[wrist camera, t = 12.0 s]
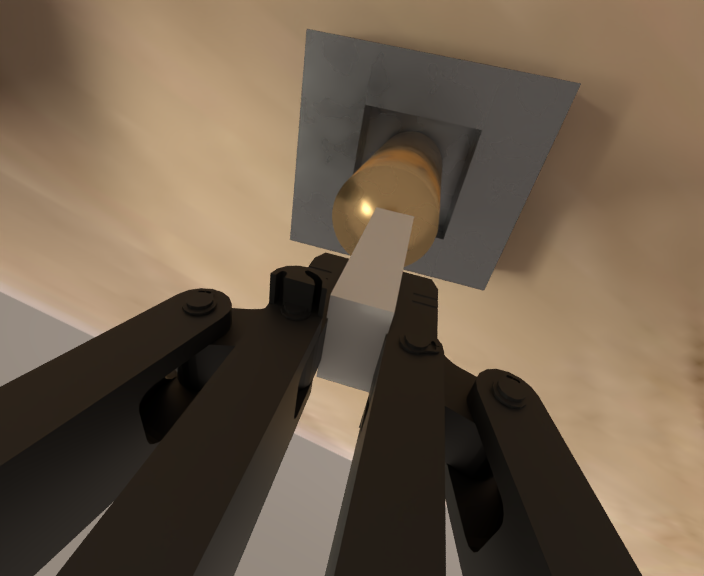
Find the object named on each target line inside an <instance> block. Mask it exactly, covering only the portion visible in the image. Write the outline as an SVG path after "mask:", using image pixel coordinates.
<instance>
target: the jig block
mask: <svg viewBox="0 0 704 576" xmlns="http://www.w3.org/2000/svg"><path fill="white" fill-rule="evenodd" d="M580 85H581V84H580V83H575V82H570V81H565V80H560V79H555V78H550V77H545V76H540V75H535V74H530V73H525V72H520V71H515V70H510V69H505V68H500V67H495V66H490V65H485V64H480V63H475V62H470V61H465V60H460V59H455V58H450V57H445V56H440V55H435V54H430V53H425V52H420V51H415V50H410V49H405V48H400V47H395V46H390V45H385V44H380V43H375V42H370V41H365V40H360V39H355V38H350V37H345V36H340V35H335V34H330V33H325V32H320V31H315V30H310V29H307V32H306V45H305V57H304V70H303V83H302V95H301V108H300V121H299V133H298V146H297V159H296V171H295V184H294V197H293V209H292V222H291V235H290V240H293V241H297V242H300V243H304V244H308V245H312V246H316V247H319V248H323V249H327V250H331V251H335V252H339V253H342V254H346V255H349V254H348V253H347V252H346V251H345V249H344V248H343V247H342V246H341V244H340V242H339V241H338V239H337V237H336V234H335V231H334V228H333V222H332V210H333V205H334V201H335V198H336V196H337V194H338V192H339V190H340V189H341V187H342V186H343V185H344V183H345V182H346V181H347V180H348V179H349V178H350V177H351V176H352V175H353V174H354V173H355V172H356V171H357V170H358V169H359V168H360V167H361V166H362V165H363V164H364V163H365V162H366V161H367V160H368V159H369V158H370V157H371V156H372V155H373V154H375V153H376V152H377V151H378V150H379V149H380V148H381V147H382V146H383V145H384V144H385V143H386V142H387V141H388V140H389V139H390V138H391V137H393V136H395V135H397V134H399V133H402V132H411V131H413V132H418V133H422V134H424V135H426V136H428V137H429V138H430V139H431V140H433V141H434V143H435V144H436V145H437V147H438V149H439V151H440V153H441V157H442V180H441V196H440V212H439V225H438V231H437V235H436V238H435V240H434V242H433V244H432V246H431V247H430V249H429V250H428V251H427V252H426V253H425V254H424V255H423V256H422V257H421V258H420V259H419V260H417V261H416V262H414V263H412V264H410V265H408V266H405V267H404V268H403V270H407V271H411V272H415V273H419V274H423V275H426V276H430V277H434V278H438V279H442V280H445V281H449V282H453V283H457V284H461V285H465V286H468V287H472V288H476V289H480V290H485V287H486V285H487V283H488V281H489V279H490V277H491V275H492V272H493V270H494V268H495V266H496V264H497V262H498V260H499V258H500V255H501V253H502V251H503V249H504V247H505V245H506V243H507V241H508V238H509V236H510V234H511V232H512V230H513V228H514V226H515V223H516V221H517V219H518V217H519V215H520V213H521V211H522V209H523V206H524V204H525V202H526V200H527V198H528V196H529V194H530V191H531V189H532V187H533V185H534V183H535V181H536V179H537V177H538V174H539V172H540V170H541V168H542V166H543V164H544V162H545V159H546V157H547V155H548V153H549V151H550V149H551V147H552V145H553V142H554V140H555V138H556V136H557V134H558V132H559V130H560V127H561V125H562V123H563V121H564V119H565V117H566V115H567V113H568V110H569V108H570V106H571V104H572V102H573V100H574V98H575V95H576V93H577V91H578V89H579V87H580Z"/></svg>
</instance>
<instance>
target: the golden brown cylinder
mask: <svg viewBox="0 0 704 576" xmlns="http://www.w3.org/2000/svg"><path fill="white" fill-rule="evenodd" d="M441 180H442V157H441V153H440V151H439V149H438V147H437V145H436V144H435V143H434V141H433V140H431V139H430V138H429V137H428V136H426V135H424V134H422V133H418V132H413V131H411V132H402V133H399V134H397V135H395V136H393V137H391V138H390V139H389V140H388V141H387V142H386V143H385V144H384V145H383V146H382V147H381V148H380V149H379V150H378V151H377V152H376V153H375V154H373V155H372V156H371V157H370V158H369V159H368V160H367V161H366V162H365V163H364V164H363V165H362V166H361V167H360V168H359V169H358V170H357V171H356V172H355V173H354V174H353V175H352V176H351V177H350V178H349V179H348V180H347V181H346V182H345V183H344V185H343V186H342V187H341V189H340V190H339V192H338V194H337V196H336V198H335V201H334V205H333V210H332V222H333V228H334V231H335V234H336V237H337V239H338V241H339V242H340V244H341V246H342V247H343V248H344V249H345V251H346V252H347V253H348V254H349V255H350V256H351V255H352V253H353V251H354V249H355V247H356V245H357V243H358V242H359V240H360V238H361V236H362V234H363V232H364V230H365V228H366V226H367V224H368V223H369V221H370V219H371V217H372V215H373V213H374V211H375V209H376V207H378V208H382V209H386V210H390V211H394V212H398V213H402V214H406V215H410V216H414V219H413V224H412V229H411V234H410V239H409V244H408V249H407V254H406V258H405V263H404V267H405V266H408V265H410V264H412V263H414V262H416V261H417V260H419V259H420V258H421V257H422V256H423V255H424V254H425V253H426V252H427V251H428V250H429V249H430V247H431V246H432V244H433V242H434V240H435V238H436V235H437V231H438V225H439V212H440V196H441Z"/></svg>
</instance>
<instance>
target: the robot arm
mask: <svg viewBox="0 0 704 576" xmlns="http://www.w3.org/2000/svg"><path fill="white" fill-rule="evenodd" d="M413 219H414V216H410V215H406V214H402V213H398V212H394V211H390V210H386V209H382V208H378V207H376V209H375V211H374V213H373V215H372V217H371V219H370V221H369V223H368V224H367V226H366V228H365V230H364V232H363V234H362V236H361V238H360V240H359V242H358V243H357V245H356V247H355V249H354V251H353V253H352V255H351V257H350V259H348V258H344V257H340V256H337V255H333V254H329V253H324V254H322V255H320V256H318V257H315V258H314V260H313V261H312V262H311V264H310V265H309V267H303V266H285V267H282V268H278V269H276V270H275V271H273V272H272V273H271V275H270V296H269V304H268V305H267V306H266V308H264V309H237V308H232V303H231V301H230V298H229V297H228V296H227V295H225V294H224V293H223V292H220V291H217V290H214V289H203V288H200V289H193V290H188V291H185V292H182V293H180V294H177V295H175V296H173V297H172V298H170V299H168V300H166V301H164V302H162V303H160V304H158V305H156V306H154V307H152V308H150V309H149V310H147V311H145V312H143V313H141V314H139V315H137V316H135V317H133V318H131V319H129V320H127V321H126V322H124V323H122V324H120V325H118V326H116V327H114V328H112V329H110V330H108V331H106V332H104V333H103V334H101V335H99V336H97V337H95V338H93V339H91V340H89V341H87V342H85V343H84V344H81V345H80V346H78V347H76V348H74V349H72V350H70V351H68V352H66V353H64V354H63V355H60V356H59V357H57V358H55V359H53V360H51V361H49V362H47V363H45V364H43V365H41V366H39V367H38V368H36V369H34V370H32V371H30V372H28V373H26V374H24V375H22V376H20V377H18V378H16V379H15V380H12V381H11V382H9V383H7V384H5V385H3V386H1V387H0V576H34V575H35V574H36V573H37V572H38V571H39V570H40V569H41V568H42V567H43V566H45V565H46V564H47V563H48V562H49V561H50V560H51V559H52V558H53V557H54V556H55V555H56V554H58V553H59V552H60V551H61V550H62V549H63V548H64V547H65V546H66V545H67V544H68V543H69V542H71V540H73V539H74V538H75V537H76V536H77V535H78V534H79V533H80V532H81V531H82V530H83V529H84V528H85V527H86V526H88V525H89V524H90V523H91V522H92V521H93V520H94V519H95V518H96V517H97V516H99V514H100V513H102V512H103V511H104V510H105V509H106V508H107V507H108V506H109V505H110V504H111V503H112V502H113V504H112V505H111V506H110V507H109V508H108V510H107V511H106V512H105V514H104V515H103V516H102V517H101V519H100V520H99V521H98V523H97V524H96V525H95V526H94V528H93V529H92V530H91V531H90V533H89V534H88V535H87V537H86V538H85V539H84V540H83V542H82V543H81V544H80V545H79V547H78V548H77V549H76V551H75V552H74V553H73V554H72V556H71V557H70V558H69V560H68V561H67V562H66V564H65V565H64V566H63V567H62V568H61V570H60V571H59V572H58V574H57V575H56V576H234V574H235V571H236V569H237V567H238V564H239V562H240V559H241V557H242V555H243V552H244V550H245V548H246V545H247V543H248V541H249V538H250V536H251V533H252V531H253V528H254V526H255V524H256V522H257V519H258V516H259V514H260V512H261V509H262V507H263V505H264V502H265V500H266V498H267V495H268V493H269V490H270V488H271V486H272V483H273V481H274V479H275V476H276V474H277V472H278V469H279V467H280V464H281V462H282V459H283V457H284V455H285V452H286V450H287V448H288V445H289V442H290V440H291V438H292V436H293V433H294V431H295V429H296V426H297V424H298V421H299V419H300V417H301V414H302V412H303V410H304V407H305V405H306V402H307V400H308V398H309V395H310V393H311V387H312V381H313V378H314V375H315V373H316V371H317V369H318V371H317V377H320V378H323V379H326V380H330V381H333V382H336V383H340V384H343V385H346V386H349V387H353V388H356V389H359V390H363V391H366V392H369V396H368V400H367V403H366V406H365V410H364V413H363V416H362V419H361V423H360V426H359V427H360V431H359V435H358V439H357V443H356V447H355V451H354V456H353V460H352V464H351V468H350V473H349V477H348V481H347V485H346V489H345V493H344V497H343V502H342V506H341V510H340V514H339V518H338V522H337V527H336V531H335V535H334V540H333V543H332V548H331V552H330V556H329V560H328V564H327V568H326V573H325V576H446V546H445V545H446V540H445V538H446V537H445V536H446V535H445V499H446V504H447V508H448V513H449V517H450V522H451V525H452V530H453V535H454V539H455V544H456V548H457V553H458V557H459V562H460V566H461V570H462V575H463V576H642V574H641V573H640V571H639V569H638V568H637V566H636V564H635V562H634V561H633V559H632V557H631V555H630V554H629V552H628V550H627V549H626V547H625V545H624V543H623V542H622V540H621V538H620V536H619V535H618V533H617V531H616V529H615V528H614V526H613V524H612V523H611V521H610V519H609V517H608V516H607V514H606V512H605V510H604V509H603V507H602V505H601V503H600V502H599V500H598V498H597V497H596V495H595V493H594V491H593V490H592V488H591V486H590V484H589V483H588V481H587V479H586V477H585V476H584V474H583V472H582V471H581V469H580V467H579V465H578V464H577V462H576V460H575V458H574V457H573V455H572V453H571V451H570V450H569V448H568V446H567V445H566V443H565V441H564V439H563V438H562V436H561V434H560V432H559V431H558V429H557V427H556V425H555V424H554V422H553V420H552V419H551V417H550V415H549V413H548V412H547V410H546V408H545V406H544V405H543V403H542V401H541V400H540V398H539V396H538V395H537V394H536V392H535V391H534V390H533V389H532V387H531V386H529V385H528V384H527V383H526V382H525V381H523V380H522V379H521V378H519V377H517V376H515V375H513V374H511V373H509V372H506V371H503V370H499V369H486V370H484V371H483V372H481V373H479V375H478V377H476V376H474V375H472V374H471V373H469V372H467V371H465V370H463V369H461V368H460V367H458V366H456V365H455V364H453V363H452V362H451V361H450V360H449V359H447V358H446V357H445V355H444V350H443V346H442V344H441V343H440V341H439V340H438V339H437V325H438V309H437V308H438V301H437V300H438V289H437V287H436V286H435V284H434V282H433V281H432V279H428V278H424V277H420V276H417V275H413V274H409V273H405V272H403V268H404V263H405V258H406V254H407V249H408V244H409V239H410V234H411V229H412V224H413Z"/></svg>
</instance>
